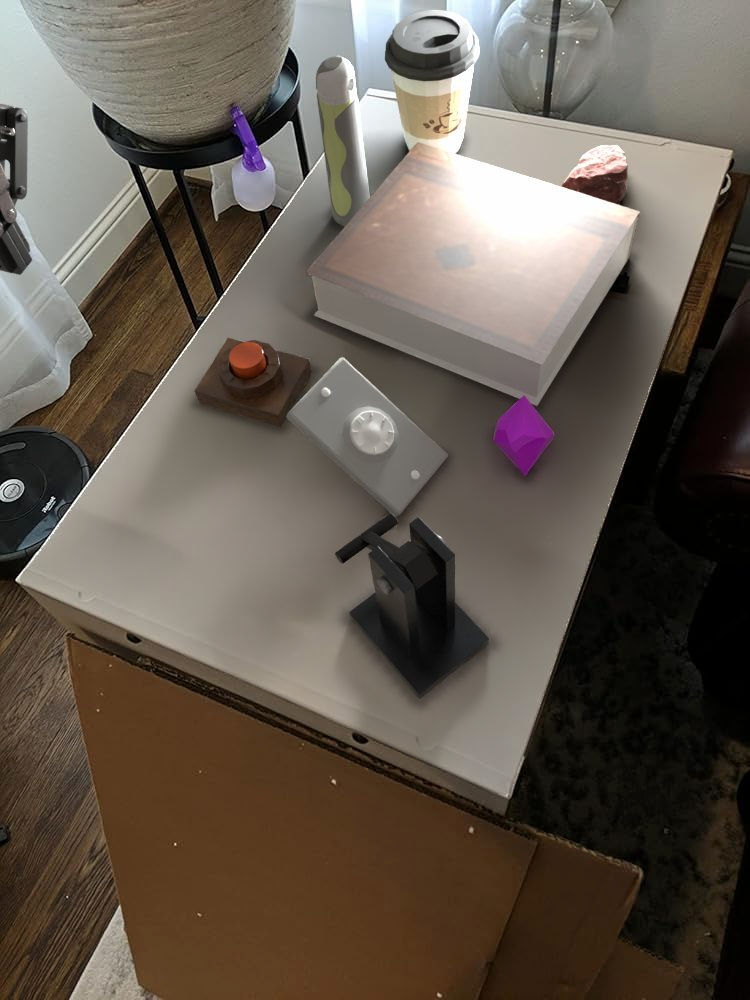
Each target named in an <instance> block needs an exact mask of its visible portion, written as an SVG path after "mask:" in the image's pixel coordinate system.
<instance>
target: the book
mask: <svg viewBox="0 0 750 1000" xmlns="http://www.w3.org/2000/svg"><path fill="white" fill-rule="evenodd" d="M640 213H641V211H640V210H636V209H633V208H631V207H627V206H623V205H620V204H618V205H617V204H614V203H611V202H608V201H605V200H601V199H598V198H595V197H592V196H589V195H585V194H582V193H579V192H576V191H573V190H569V189H566V188H563V187H561V185H556V184H553V183H550V182H547V181H544V180H540V179H537V178H534V177H530V176H527V175H524V174H521V173H518V172H515V171H512V170H508V169H505V168H502V167H499V166H496V165H492V164H490V163H486V162H483V161H479V160H477V159H473V158H470V157H466V156H464V155H461V154H457V153H455V154H454V153H451V152H448V151H444V150H441V149H438V148H435V147H432V146H428V145H425V144H422V143H419V142H417V143H416V144H415V145H414V147H413V148H412V149H411V150H410V151H409V150H408V152H407V153H406V155H405V156H404V157H402V159H401V161H400V162H399V163H398V164H397V165H396V166H395V167H394V168H393V170H392V171H391V172H390V173H389V174H388V175H387V177H386V178H385V179H384V180H383V181H382V183H381V184H380V185H379V186H378V187H377V189H376V190H375V191H374V192H373V193H372V194H371V195H370V198H369V199H368V200H367V201H366V203H365V204H364V205H363V206H362V207H361V208H360V210H359V211H358V212H357V213H356V214H355V216H354V217H353V218H352V219H351V220H350V221H349V223H348V224H347V225H346V226H343V228H342V229H341V230H340V232H339V233H338V234H337V235H336V236H335V238H334V239H332V241H331V242H330V244H328V246H327V247H326V248H325V249H324V251H322V253H321V254H320V255H319V256H318V257H317V259H316V260H315V261H314V262H313V263H312V265H311V266H310V267H309V268H308V269H307V270H306V272H305V273H306V274H307V275H310V276H311V279H312V283H313V288H314V294H315V299H316V304H317V309H318V310H317V311H316V312H315V313H314V314H313V316H314V317H318V318H319V319H322V320H325V321H327V322H329V323H332V324H334V325H337V326H339V327H342V328H344V329H347V330H349V331H351V332H353V333H356V334H359V335H361V336H364V337H366V338H368V339H371V340H374V341H376V342H378V343H381V344H383V345H386V346H388V347H390V348H394V349H395V350H398V351H400V352H402V353H405V354H407V355H410V356H413V357H416V358H417V359H420V360H423V361H425V362H428V363H430V364H433V365H435V366H437V367H440V368H443V369H445V370H447V371H450V372H452V373H455V374H457V375H460V376H461V377H464V378H467V379H470V380H472V381H474V382H477V383H480V384H481V385H485V386H487V387H489V388H491V389H494V390H497V391H499V392H501V393H504V394H506V395H509V396H511V397H514V398H516V399H518V400H519V399H520V398H521V397H522V396H523V395H525V397H526V398H527V399H528V401H529V402H530V403H531V404H532V406H536V407H538V406H539V404H540V402H541V401H542V399H543V397H544V396H545V394H546V393H547V391H548V389H549V387H550V386H551V384H552V383H553V381H554V379H555V378H556V376H557V375H558V373H559V371H560V370H561V368H562V366H563V365H564V363H565V362H566V360H567V358H569V355H570V354H571V352H572V351H573V349H574V348H575V346H576V344H577V342H578V341H579V339H580V338H581V336H582V334H583V333H584V332H585V330H586V328H587V326H588V325H589V324H590V321H591V320H592V318H593V316H595V313H596V311H598V309H599V307H600V305H601V304H602V302H603V300H604V299H605V298H606V296H607V294H608V292H609V291H610V289H611V288H612V286H613V285H614V283H615V281H616V280H617V278H618V277H619V275H620V273H621V272H622V270H623V269H624V266H625V265H626V264H627V262H628V260H629V259H630V257H631V251H632V248H633V243H634V240H635V234H636V231H637V225H638V222H639V217H640Z"/></svg>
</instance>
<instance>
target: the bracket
mask: <svg viewBox="0 0 750 1000" xmlns="http://www.w3.org/2000/svg"><path fill="white" fill-rule="evenodd" d="M408 526H409V527H408V529H409V541H411V542H412V543H414V544H416V545H418V546H420V547H422V548H424V549H426V550H427V552H428V554H429V556H430V558H431V560H432V562H433V564H434V566H435V568H436V570H437V572H438V574H437V575H436V576H434V577H433V578H432V579H430V580H429V581H428V582H426V583H425V584H424V585H422V586H421V587H420V588H418V589H417V590H416V589H415V586H414V585H413V584H412V582H411V581H410V580H409V579H408V578H407V577H406V576H405V575H404V574H403V573H402V572H401V570H400V569H399V568H398V567H397V566H396V565H395V564H394V563H393V562H392V561H391V560H390V559H389V557H388V556H387V555H386V554H385V553H384V552H383V551H382V550H381V549H380V548H379V547H378V546H377V547H376V548H375V549H373V550H370V551H369V552H368V553H367V555H368V563H369V568H370V571H371V572H370V573H371V578H372V584H373V589H374V592H373V594H371V595H370V596H368V597H367V598H366V599H365V600H363V601H362V602H360V603H359V604H357V606H355V607H354V608H352V609H351V610H350V611H348V616H349V618H350V619H351V621H352V622H353V623H354V624H355V626H357V628H358V629H359V630H360V631H361V633H362V634H363V635H364V636H365V637H366V638H367V639H368V641H369V642H370V644H371V645H372V646H373V647H374V648H375V649H376V650H377V651H378V652H379V654H380V655H381V656H382V657H383V658H384V660H385V661H386V662H387V663H388V665H390V667H391V668H392V669H393V670H394V672H395V673H396V674H397V675H398V676H399V677H400V678H401V680H402V681H403V682H404V683H405V684H406V685H407V687H408V688H409V689H410V690H411V691H412V692H413V694H414V695H415V696H416V697H417V699H419V700H421V699H422V698H424V697H425V696H426V695H427V694H429V693H430V692H431V691H432V690H433V689H435V688H436V687H437V686H438V685H440V684H441V683H442V682H443V681H445V680H446V679H447V678H448V677H449V676H451V675H452V674H453V673H455V672H456V671H458V669H459V668H461V667H462V666H464V665H465V664H466V663H467V662H468V661H469V660H471V659H472V658H473V657H474V656H476V655H477V654H478V653H479V652H481V650H483V649H484V648H486V647H487V646H488V645H489V644H490V637H489V636H487V634H486V633H485V632H484V631H483V629H481V628H480V627H479V626H478V625H477V624H476V622H474V620H472V618H471V617H470V616H469V615H468V614H467V613H466V612H465V611H464V610H463V609H462V608H461V606H460V605H459V604H458V603H456V553H454V551H452V549H451V548H450V547H449V546H448V545H447V543H446V541H445V540H444V538H443V537H441V536H440V535H438V534H436V533H435V532H434V531H433V530H432V529H431V527H429V526H428V524H427V523H426V522H424V521H423V519H421V517H420V516H417V517H416V518H414V519H413V520H412V521H411V522H409V523H408Z"/></svg>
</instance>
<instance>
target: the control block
mask: <svg viewBox="0 0 750 1000" xmlns="http://www.w3.org/2000/svg"><path fill="white" fill-rule="evenodd" d="M245 342H252V343H256V344H257V345H259V346H260V347H261V348H262V350H263V353H264V357H265V360H266V367H265V369H264V371H263V372H262V373H261V374H260V375H259V376H257V377H255V378H251V379H243V378H240V377H238V376H236V375H235V374H234V372H233V370H232V367H231V364H230V361H229V354H230V352H231V350H232V349H233V348H234V347H235V346H237V345H238V344H241V343H245ZM312 373H313V369H312V364H311V359H310V358H308V357H304V356H300V355H296V354H293V353H288V352H285V351H281V350H278V349H275V348H274V347H273V346H272V345H271V343H268V342H264V341H260V340H256V339H252V340H251V339H250V340H245V341H243V340H241V339H240V340H239V339H236V338H231V337H226V340H225V341H224V343H223V344H222V346H221V348H220V350H219V351H218V353H217V354H216V355H215V357H214V359H213V360H212V362H211V363H210V365H209V366H208V368H207V370H206V372H205V373H204V374H203V376H202V378H201V380H200V381H199V382H198V384H197V386H196V388H195V389H194V391H193V392H194V395H195V397H196V400H197V402H198V404H199V405H202V406H206V407H208V408H212V409H215V410H220V411H223V412H225V413H226V412H227V413H230V414H233V415H237V416H241V417H243V418H246V419H251V420H254V421H258V422H260V423H264V424H268V425H270V426H275V427H278V428H283V426H284V424H285V423H286V421H287V420H288V419H287V417H286V416H287V414H288V412H289V411H290V410H291V409H292V408H293V407H294V406H295V405H296V403H297V400H298V399H299V397H300V395H301V393H302V391H303V390H304V388H305V386H306V384H307V382H308V381H309V379H310V377H311V375H312Z"/></svg>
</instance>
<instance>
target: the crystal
mask: <svg viewBox="0 0 750 1000" xmlns="http://www.w3.org/2000/svg"><path fill="white" fill-rule="evenodd" d="M554 438H555V433H554V431H553V429H552V428H551V427H550V426H549V424H548V423H547V422H546V421H545V419H544V418H543V417H542V416H541V414H540V413H539V412H538V411H537V410H536V408H535V407H534V405H533V404H531V403H530V402H529V401H528V399H527V398H526V397H525V395H523V396H522V397H521V398H520V399H519V398H518V400H517V401H516V402H514V404H513V405H512V406H511V407H510V408H509V409H508V410H506V412H505V413H503V415H501V416H500V417H499V418H498V419H497V423H496V426H495V428H494V434H493V442H494V443H495V445H497V447H498V448H499V449H500V450H501V451H502V452H503V453H504V455H506V457H507V458H508V459H509V461H510V462H511V463H512V464H513V465H514V466H515V467H516V468H517V469H518V470H519V471H520V473H521V474H522V475H523V476H524V477H526V476H527V475H528V473H529V472H530V470H531V469H532V468H533V466H534V465H535V464H536V462H537V461H538V460H539V458H540V457H541V455H542V454H543V453H544V451H545V450H546V449H547V447H548V446H549V445H550V444H551V442H552V441H553V439H554Z"/></svg>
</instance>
